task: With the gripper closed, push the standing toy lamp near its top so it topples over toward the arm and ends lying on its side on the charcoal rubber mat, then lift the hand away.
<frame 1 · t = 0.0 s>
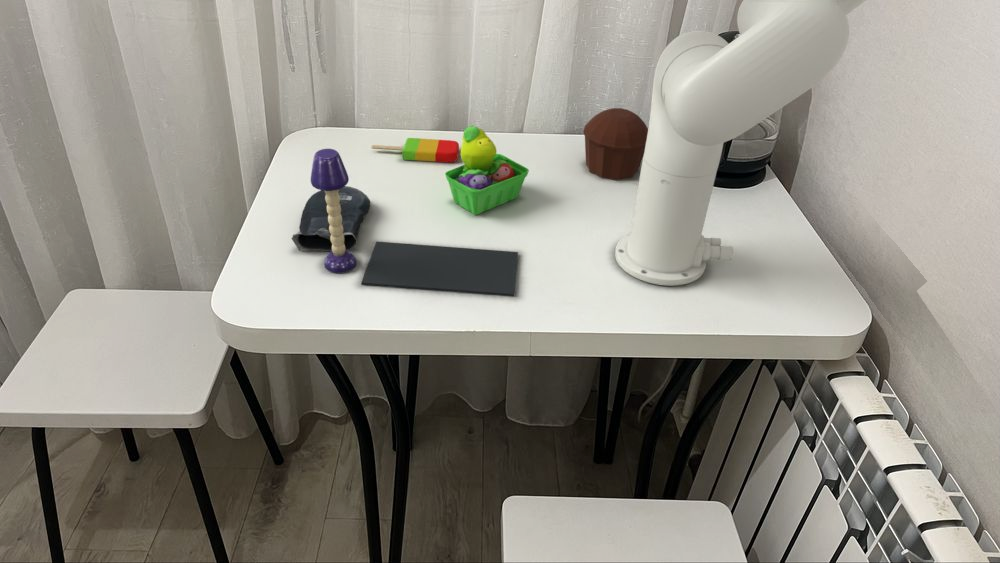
popsicle: (415, 155, 129), on the table
muffin: (611, 169, 128), on the table
fruit basket: (483, 200, 117), on the table
mat: (442, 269, 101), on the table
toy lamp: (338, 266, 100), on the table
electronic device: (335, 225, 109), on the table
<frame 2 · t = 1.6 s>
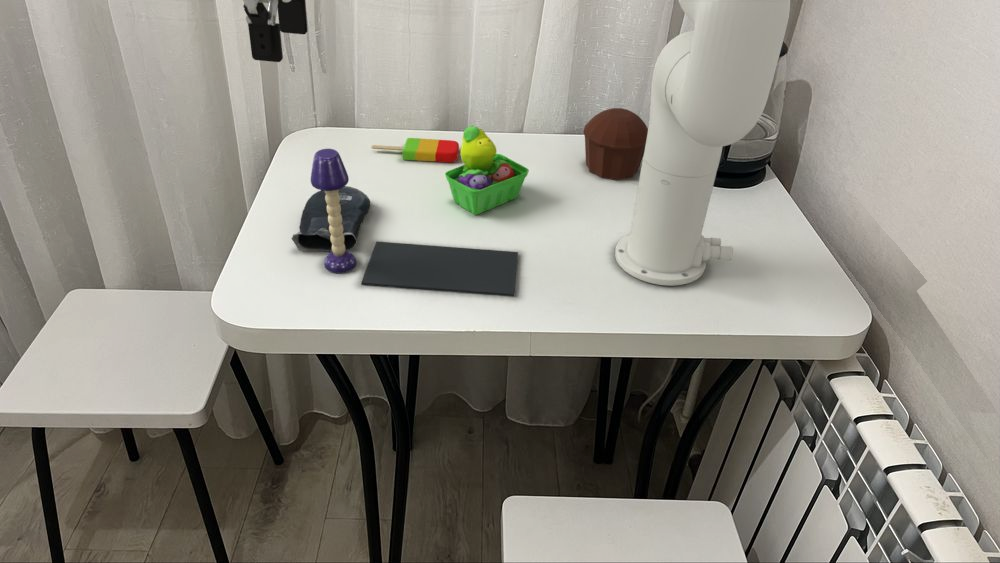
hand: (281, 45, 85), 29 cm above the table, tool pointing down, fingers open, 9 cm apart
nothing on the table moved.
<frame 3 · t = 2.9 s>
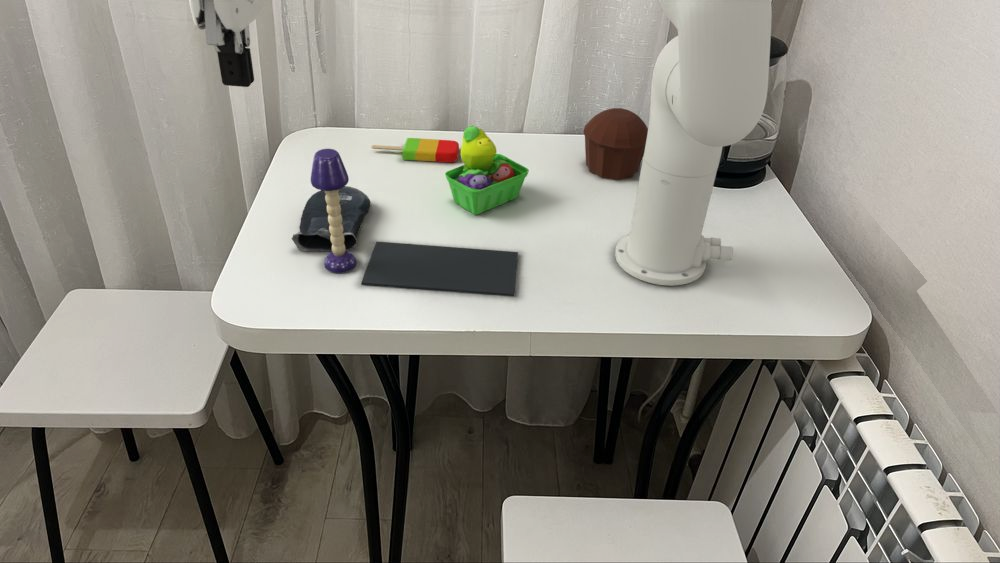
hand: (238, 83, 86), 25 cm above the table, tool pointing down, fingers closed
nothing on the table moved.
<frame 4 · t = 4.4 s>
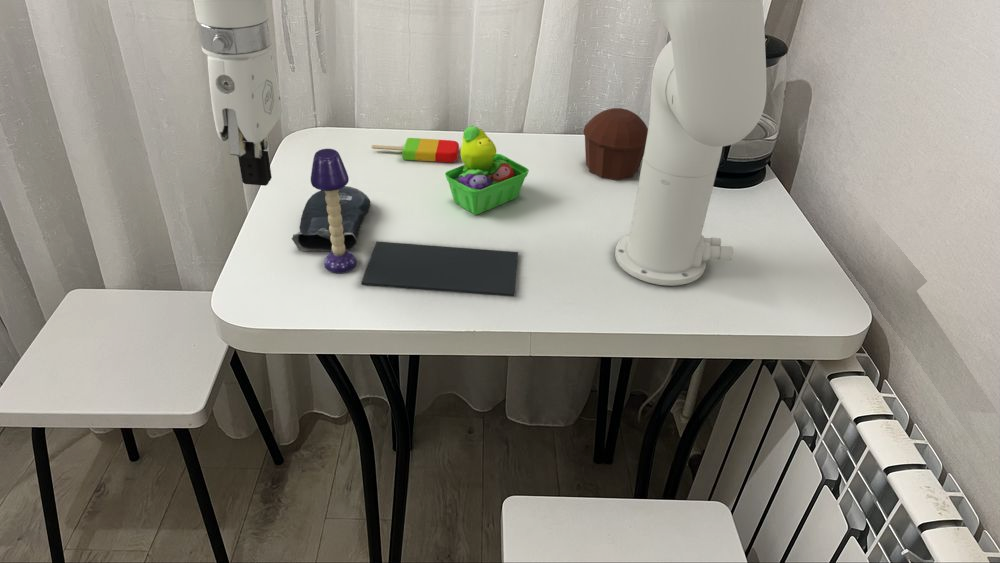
hand: (257, 181, 94), 12 cm above the table, tool pointing down, fingers closed
nothing on the table moved.
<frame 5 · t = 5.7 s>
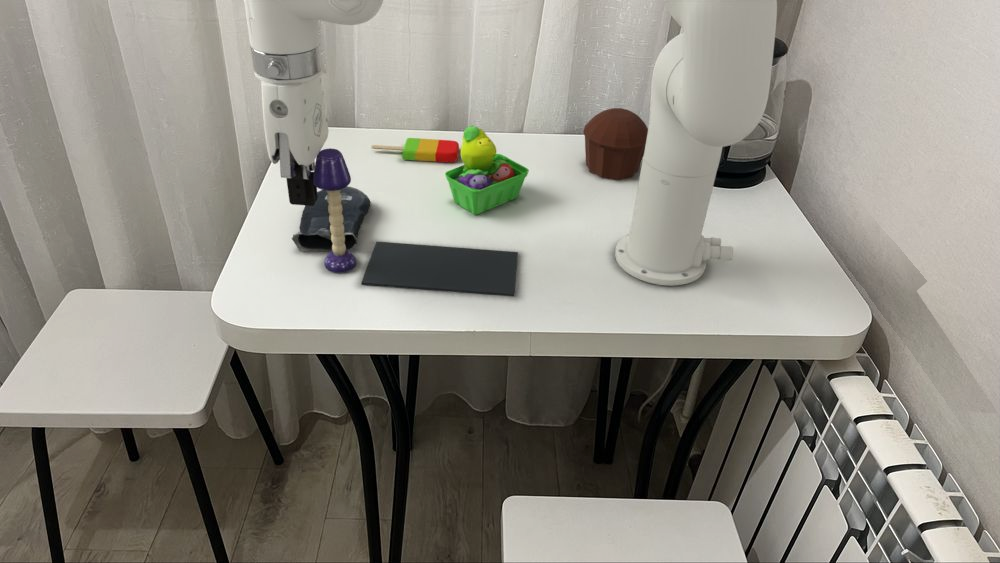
hand: (304, 201, 95), 9 cm above the table, tool pointing down, fingers closed
toy lamp: (338, 266, 100), on the table, touching gripper
everything else where it was.
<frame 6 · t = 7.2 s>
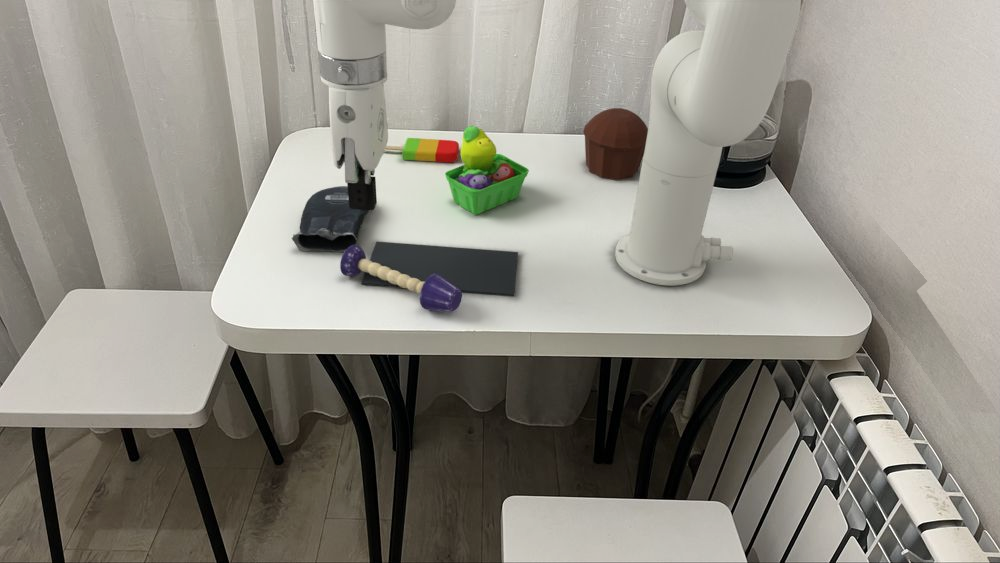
hand: (363, 206, 95), 9 cm above the table, tool pointing down, fingers closed
toy lamp: (347, 260, 98), point 2 cm above the table
everything else where it was.
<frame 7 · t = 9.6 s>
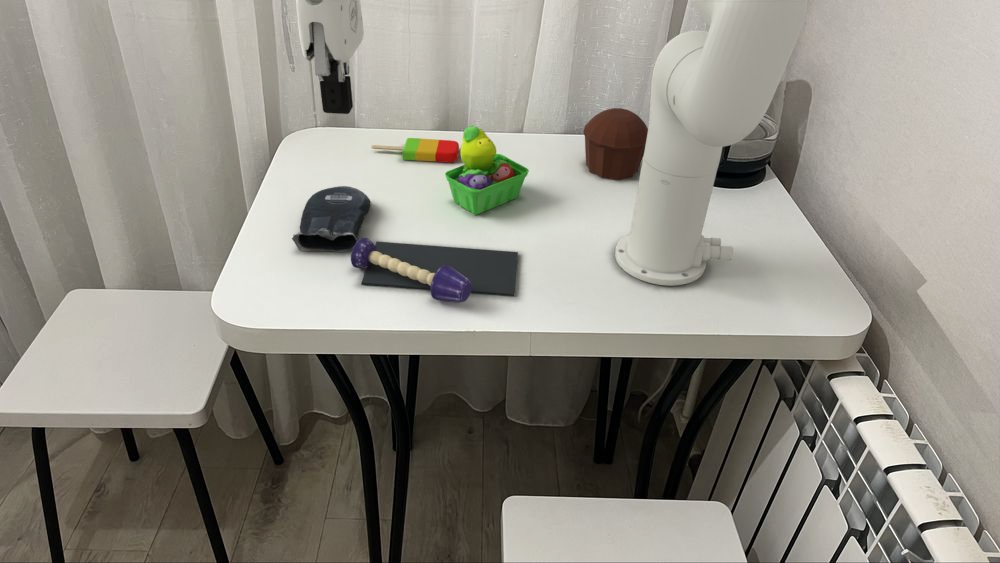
hand: (338, 110, 88), 22 cm above the table, tool pointing down, fingers closed
toy lamp: (357, 250, 99), point 2 cm above the table, touching mat
everything else where it was.
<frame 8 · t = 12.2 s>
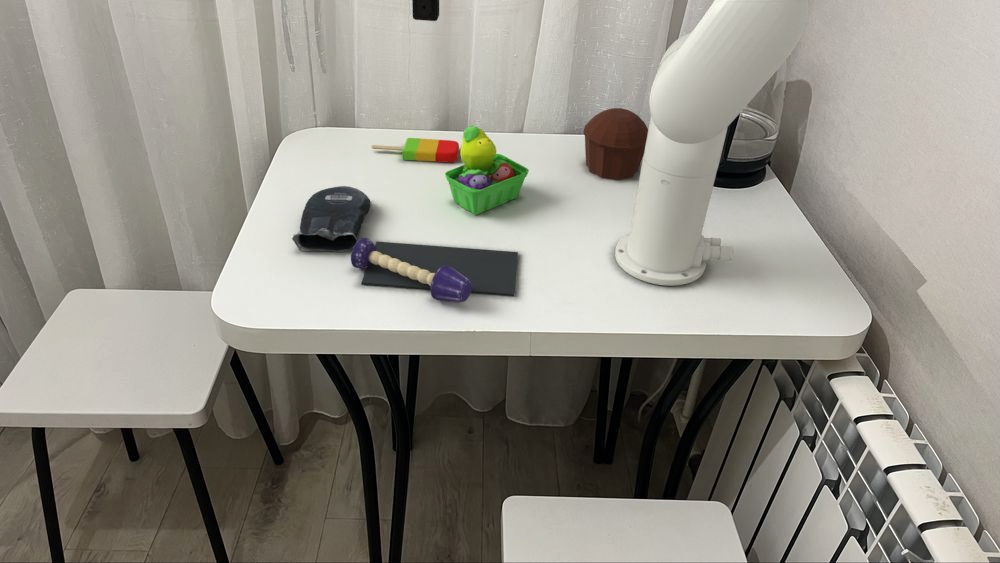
hand: (426, 18, 95), 29 cm above the table, tool pointing down, fingers closed
nothing on the table moved.
at the end: toy lamp tilted 91°; toy lamp touching mat, table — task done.
